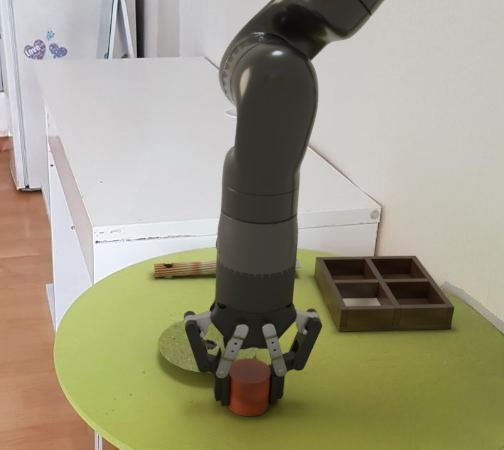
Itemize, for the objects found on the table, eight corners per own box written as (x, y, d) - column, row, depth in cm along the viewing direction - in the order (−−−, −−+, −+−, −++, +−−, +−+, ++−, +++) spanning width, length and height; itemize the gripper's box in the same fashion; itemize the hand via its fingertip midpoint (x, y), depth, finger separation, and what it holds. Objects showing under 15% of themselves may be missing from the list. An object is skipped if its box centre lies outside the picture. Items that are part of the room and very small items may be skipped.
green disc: (163, 328, 91) (163, 314, 90) (256, 332, 90) (257, 318, 90) (152, 383, 81) (152, 368, 80) (257, 389, 80) (258, 374, 79)
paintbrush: (302, 259, 101) (154, 267, 100) (301, 277, 103) (154, 285, 101) (297, 247, 105) (153, 254, 104) (296, 264, 106) (154, 272, 105)
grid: (412, 275, 105) (415, 255, 104) (450, 329, 92) (454, 307, 91) (313, 276, 104) (315, 256, 103) (338, 331, 91) (341, 309, 90)
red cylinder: (265, 389, 80) (267, 357, 78) (271, 415, 76) (274, 383, 74) (224, 390, 80) (225, 358, 78) (228, 417, 76) (230, 384, 74)
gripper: (183, 272, 67) (180, 427, 74) (340, 270, 68) (323, 422, 75) (178, 236, 74) (177, 381, 81) (322, 234, 75) (308, 377, 82)
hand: (247, 400), depth 78 cm, fingers closed on red cylinder, 4 cm apart
